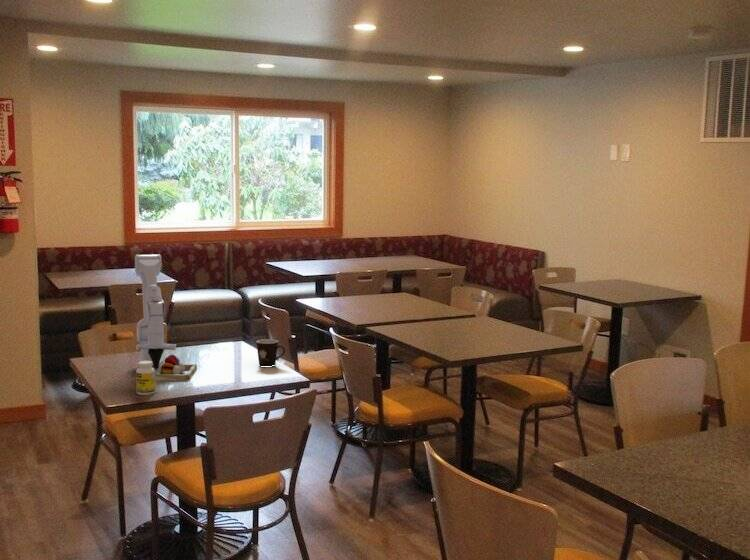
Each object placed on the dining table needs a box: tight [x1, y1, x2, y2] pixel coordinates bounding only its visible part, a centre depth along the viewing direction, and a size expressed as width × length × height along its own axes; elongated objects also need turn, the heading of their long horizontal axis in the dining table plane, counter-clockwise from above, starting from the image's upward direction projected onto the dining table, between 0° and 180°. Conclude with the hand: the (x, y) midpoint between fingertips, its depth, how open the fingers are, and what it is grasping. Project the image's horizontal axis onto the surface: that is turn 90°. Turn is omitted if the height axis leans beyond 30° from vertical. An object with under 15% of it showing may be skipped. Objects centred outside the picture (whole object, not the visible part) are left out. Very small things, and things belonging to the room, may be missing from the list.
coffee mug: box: [256, 338, 286, 367], centre depth 312 cm, size 12×9×10 cm
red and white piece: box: [157, 354, 186, 374], centre depth 297 cm, size 8×10×7 cm
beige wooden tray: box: [155, 363, 198, 381], centre depth 296 cm, size 17×14×2 cm
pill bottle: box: [135, 360, 156, 396], centre depth 270 cm, size 6×6×11 cm
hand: (156, 368), depth 296 cm, fingers closed
